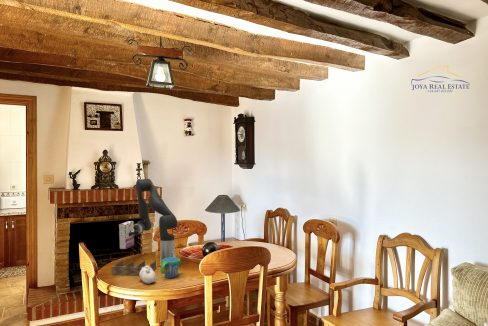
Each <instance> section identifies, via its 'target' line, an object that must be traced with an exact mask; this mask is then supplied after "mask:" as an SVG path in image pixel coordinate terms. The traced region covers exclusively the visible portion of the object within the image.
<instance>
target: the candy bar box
mask: <svg viewBox="0 0 488 326" xmlns="http://www.w3.org/2000/svg"><path fill="white" fill-rule="evenodd" d="M134 224H135V223H134V221H133V220H131V221H125V222H122V223H119V224H118V228H119V231H118V233H119V234H118V236H119V249H120V250H127V249H129V248H132V247H133V246H135V236H134V235H133V236H129V233H130V232H132V231H133V230H134Z"/></svg>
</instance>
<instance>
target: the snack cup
mask: <svg viewBox="0 0 488 326" xmlns="http://www.w3.org/2000/svg"><path fill="white" fill-rule="evenodd" d="M162 263H163V264H162V267H161V266H160V267H161V268H160V273H161V274H163V275H164V277H165V278H167V279H168V278H169V279H170V278H171V279H173V278H176V277H178V275H179V269H180V268H182V262H181V259H180V258H179V257H176V256H175V257H171V258H165V259H163V260H162Z"/></svg>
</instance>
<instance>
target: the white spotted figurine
mask: <svg viewBox="0 0 488 326" xmlns="http://www.w3.org/2000/svg"><path fill="white" fill-rule="evenodd" d="M138 277H139V278H140V280H142V282H143V283H144V284H151V283H155V282H156V281H157V279H156V272H155V270H154V271H153V269H152V268H151V267H150V264H149V265H146V264H145V267H142V269H141V271H140V273H139V276H138Z"/></svg>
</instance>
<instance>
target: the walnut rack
mask: <svg viewBox="0 0 488 326" xmlns="http://www.w3.org/2000/svg"><path fill="white" fill-rule="evenodd" d="M149 265H150V267H151V268H152V269H153V271H154V272H155V270H156V269H157V261H156V260H154V261H153V262H151V263H150V264H149ZM145 266H146V260H143V261H141V262H140V263H138V264H136V265H135V259H132V260H131V261H130V262H128V263H127V264H125V265H124V259H121V260H119V261H118V262H117V263H115V264H113V265H112V266H111V276H112V275H113V276H132V277H133V276H138V277H140V276H139V273H140V271H141V269H142V267H145Z"/></svg>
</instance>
